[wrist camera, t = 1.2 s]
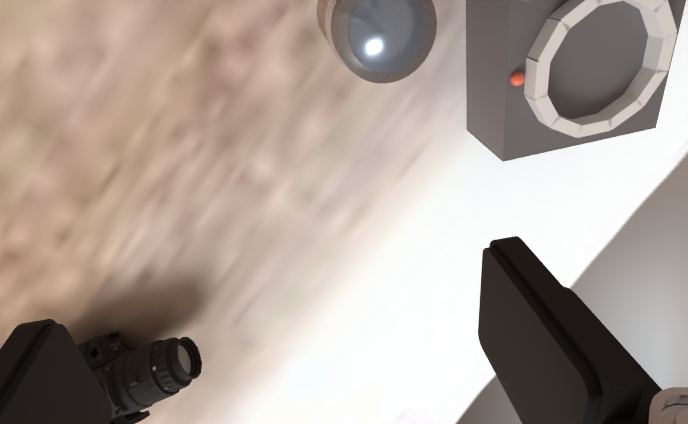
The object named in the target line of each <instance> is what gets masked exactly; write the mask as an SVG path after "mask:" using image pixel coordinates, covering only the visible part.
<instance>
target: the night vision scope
mask: <svg viewBox="0 0 688 424" xmlns="http://www.w3.org/2000/svg"><path fill="white" fill-rule="evenodd" d="M121 341H122V340H121V337H120V334H119V332H118V331H117V332H115V333H112V334H110V335H108V336H107V334H106V335H102V336H100V337H97V338H95V339H92V340H90V341H88V342H85V343H83V344H78V345H77V347H78V349H79V350H80V352H81V354H82V355H83V357H84V359H85V360H86V362H87V364H88V365H89V367H90V369H91V370H92V372H93V374H94V375H95V377H96V378H97V380H98V382H99V383H100V385H101V387H102V388H103V390H104V392H105V393H106V395H107V397H108V398H109V400H110V402H111V405H112V418H111V421H110V424H135V423H137V422H139V421H141V420H143V419H145V418H146V417H148V416H149V415H150V413H149V411H145V412H140V410H143V409H145V408H148V407H150V406H152V405H153V404H154V403H156V402H158V401H160V400H163V399H165V398H168V397H170V396H172V395H174V394H176V393H178V392H179V390H180V389H182V388H185V387H187V386H188V385H189V384H190V383H191V381H192V379H195V378H197V377H198V376H199V375H200V373H201V367H202V361H201V357H200V353H199V350H198V347H197V346H196V345H195V343H194V342H193V341H192V340H191V339H190V338H188V337H182V338H181V339H178V338H176V337H175V338H169V339H167V340H158V341H154V342H152V343H150V344H148V345H146V346H143V347H141V348H139V349H133V350H131V351H128V350H127V349H126V350H125V349H124V345H122V344H121Z"/></svg>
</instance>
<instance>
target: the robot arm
mask: <svg viewBox="0 0 688 424" xmlns="http://www.w3.org/2000/svg"><path fill="white" fill-rule="evenodd" d="M478 335H479V340H480V344H481V346H482V349H483V350H484V352H485V354H486V356H487V358H488V360H489V362H490V364H491V365H492V367H493V369H494V371H495V373H496V375H497V377H498V379H499V380H500V382H501V384H502V386H503V388H504V390H505V392H506V394H507V395H508V397H509V399H510V401H511V403H512V405H513V407H514V409H515V410H516V412H517V414H518V416H519V418H520V420H521V422H522V424H688V388H687V387H686V388H685V387H680V388H679V387H673V388H669V389H666V390H662V389H661V388H660V387H659V386H658V385H657V384H656V383H655V382H654V381H653V379H652V378H651V377H650V376H649V375H648V374H647V373H646V372H645V370H644V369H643V368H642V367H641V366H640V365H639V364H638V363H637V362H636V360H635V359H634V358H633V357H632V356H631V355H630V354H629V353H628V352H627V351H626V349H625V348H624V347H623V346H622V345H621V344H620V343H619V342H618V340H617V339H616V338H615V337H614V336H613V335H612V334H611V333H610V332H609V330H608V329H607V328H606V327H605V326H604V325H603V324H602V323H601V322H600V320H599V319H598V318H597V317H596V316H595V315H594V314H593V313H592V312H591V311H590V309H589V308H588V307H587V306H586V305H585V304H584V303H583V302H582V300H581V299H580V298H579V297H578V296H577V295H576V294H575V293H574V292H573V291H572V290H571V289H569V288H566V287H563V286H562V285H561V284H560V283H559V282H558V280H557V279H556V278H555V277H554V276H553V275H552V274H551V272H550V271H549V270H548V269H547V268H546V267H545V266H544V265H543V263H542V262H541V261H540V260H539V259H538V258H537V257H536V255H535V254H534V253H533V252H532V251H531V250H530V249H529V247H528V246H527V245H526V244H525V243H524V242H523V241H522V240H521V239H520V238H519V237H516V236H515V237H509V238H504V239H498V240H493V241H491V243H490V247H489V248H485V249H484V250H483V258H482V275H481V292H480V310H479V327H478ZM111 418H112V405H111V402H110V400H109V398H108V397H107V395H106V393H105V392H104V390H103V388H102V387H101V385H100V383H99V382H98V380H97V378H96V377H95V375H94V374H93V372H92V370H91V369H90V367H89V365H88V364H87V362H86V360H85V359H84V357H83V355H82V354H81V352H80V350H79V349H78V347H77V345H76V344H75V342H74V340H73V339H72V337H71V336H70V334H69V332H68V331H67V329H66V328H65V326H64V325H62V324H57V323H56V322H55V321H54V320H52V319H46V320H40V321H35V322H29V323H23V324H20V325H18V326H17V327H16V328H15V329H14V331H13V332H12V333H11V335H10V336H9V338H8V339H7V340H6V342H5V343H4V345H3V346H2V348H1V349H0V424H110V421H111Z"/></svg>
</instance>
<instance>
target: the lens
mask: <svg viewBox="0 0 688 424" xmlns="http://www.w3.org/2000/svg"><path fill="white" fill-rule="evenodd" d="M317 16H318V22H319V26H320V28H321V31H322V33H323V34H324V36H325V37H326V39H327V40H328V42H329V45H330V47H331V49H332V51H333V52H334V54H335V55H336V57H337V58H338V59H339V61H340V62H341V63H342V64H343V65H344V66H345V67H346V68H348V69H349V70H351V71H352V72H353V73H355V74H356V75H357V76H359V77H360V78H362V79H365V80H367V81H370V82H374V83H390V82H395V81H398V80H401V79H403V78H405V77H407V76H408V75H410V74H411V73H413V72H414V71H415V70H416V69H417V68H418V67H419V66H420V65H421V64H422V63H423V62H424V60H425V59H426V57H427V56H428V54H429V52H430V50H431V48H432V45H433V43H434V39H435V35H436V24H437V21H436V13H435V8H434V5H433V2H432V0H318V5H317Z"/></svg>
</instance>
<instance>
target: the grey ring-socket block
mask: <svg viewBox="0 0 688 424" xmlns="http://www.w3.org/2000/svg"><path fill="white" fill-rule="evenodd" d="M685 2H686V0H466V51H467V131H469V132H470V133H471V134H472V135H473V136H474V137H475V138H477V139H478V140H479V141H480V142H481V143H482V144H483V145H485V146H486V147H487V148H488V149H489V150H490V151H491V152H493V153H494V154H495V155H496V156H497V157H498V158H499V159H501V160H502V161H507V160H512V159H516V158H521V157H525V156H530V155H534V154H539V153H543V152H548V151H552V150H557V149H561V148H566V147H571V146H575V145H580V144H584V143H589V142H593V141H598V140H602V139H607V138H611V137H616V136H620V135H625V134H629V133H634V132H638V131H643V130H647V129H652V128H655V127H656V123H657V119H658V115H659V111H660V107H661V102H662V98H663V94H664V90H665V86H666V81H667V77H668V73H669V69H670V65H671V61H672V56H673V52H674V48H675V44H676V40H677V35H678V31H679V27H680V23H681V19H682V14H683V10H684V6H685Z"/></svg>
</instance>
